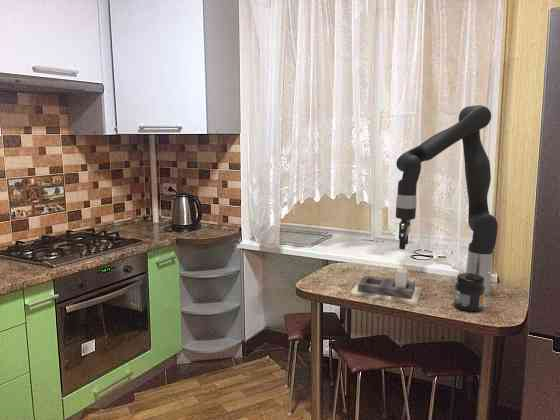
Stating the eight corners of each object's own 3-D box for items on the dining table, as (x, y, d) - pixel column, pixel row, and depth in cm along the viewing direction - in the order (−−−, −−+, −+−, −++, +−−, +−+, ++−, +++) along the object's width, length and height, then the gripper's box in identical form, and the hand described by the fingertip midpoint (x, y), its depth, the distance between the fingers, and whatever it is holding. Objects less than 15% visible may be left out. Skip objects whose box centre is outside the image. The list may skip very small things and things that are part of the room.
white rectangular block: (406, 291, 194) (407, 270, 193) (404, 294, 191) (406, 272, 189) (396, 290, 196) (397, 268, 194) (394, 293, 192) (395, 271, 190)
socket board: (421, 290, 199) (422, 280, 198) (417, 305, 182) (417, 295, 182) (359, 281, 208) (360, 272, 208) (349, 295, 192) (350, 285, 191)
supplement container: (487, 307, 182) (490, 276, 180) (477, 315, 174) (480, 283, 172) (459, 300, 189) (462, 270, 186) (448, 307, 181) (451, 276, 179)
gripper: (413, 209, 179) (411, 252, 182) (417, 203, 192) (415, 243, 195) (393, 208, 181) (391, 250, 185) (398, 202, 195) (396, 241, 198)
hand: (403, 246), depth 190 cm, fingers open, 8 cm apart
